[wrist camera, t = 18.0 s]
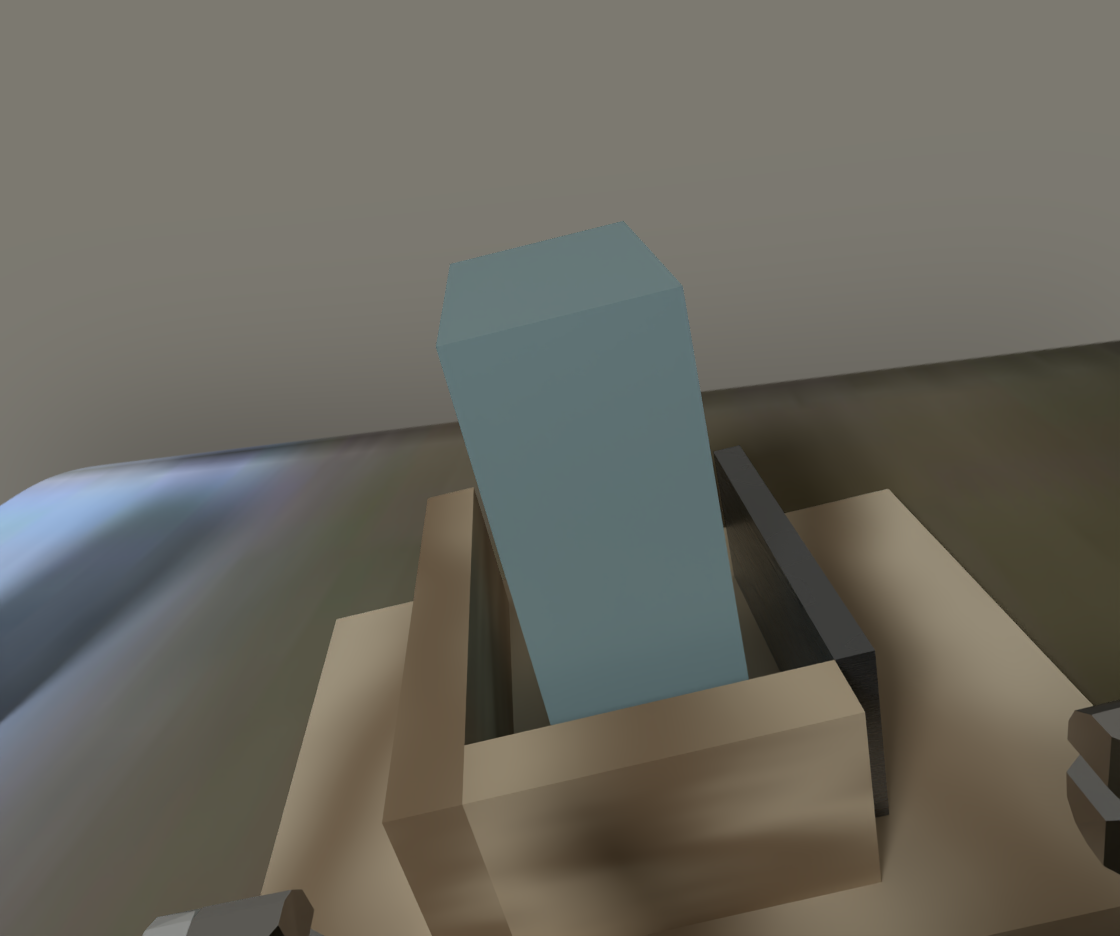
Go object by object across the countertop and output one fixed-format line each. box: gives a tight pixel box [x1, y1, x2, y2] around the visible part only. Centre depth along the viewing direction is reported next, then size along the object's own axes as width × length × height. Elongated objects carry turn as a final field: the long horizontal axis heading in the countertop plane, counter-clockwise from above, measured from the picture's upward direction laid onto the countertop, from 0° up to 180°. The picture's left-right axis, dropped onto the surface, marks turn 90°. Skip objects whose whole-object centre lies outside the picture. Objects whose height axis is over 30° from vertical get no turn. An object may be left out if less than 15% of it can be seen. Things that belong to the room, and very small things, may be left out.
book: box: [436, 221, 749, 725], centre depth 21 cm, size 4×7×12 cm, turn 5°
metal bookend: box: [713, 445, 889, 818], centre depth 22 cm, size 1×10×4 cm, turn 4°
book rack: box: [261, 487, 1120, 936], centre depth 23 cm, size 20×16×6 cm
